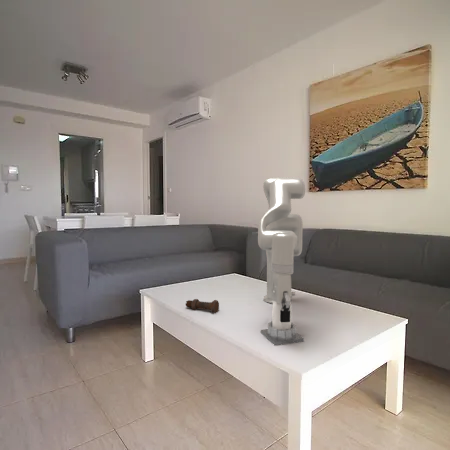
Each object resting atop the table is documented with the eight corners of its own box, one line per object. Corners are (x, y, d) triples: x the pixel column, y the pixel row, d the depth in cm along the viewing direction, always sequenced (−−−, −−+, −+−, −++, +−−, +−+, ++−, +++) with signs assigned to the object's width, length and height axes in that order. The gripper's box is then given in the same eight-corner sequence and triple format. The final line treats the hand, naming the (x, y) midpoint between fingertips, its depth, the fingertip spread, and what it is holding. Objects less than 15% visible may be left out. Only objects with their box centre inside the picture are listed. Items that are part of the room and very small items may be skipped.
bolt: (188, 311, 139) (217, 314, 132) (182, 308, 135) (213, 312, 128) (191, 298, 141) (220, 301, 135) (185, 295, 137) (215, 298, 131)
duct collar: (287, 329, 113) (287, 318, 113) (303, 341, 103) (304, 329, 103) (260, 332, 110) (260, 321, 110) (274, 345, 100) (274, 333, 99)
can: (268, 332, 107) (268, 299, 107) (281, 328, 111) (281, 296, 111) (281, 339, 102) (282, 303, 102) (294, 334, 106) (295, 300, 105)
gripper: (267, 263, 114) (266, 308, 115) (276, 274, 97) (276, 326, 98) (286, 263, 114) (286, 307, 115) (300, 274, 97) (299, 326, 98)
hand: (281, 316), depth 107 cm, fingers open, 9 cm apart
